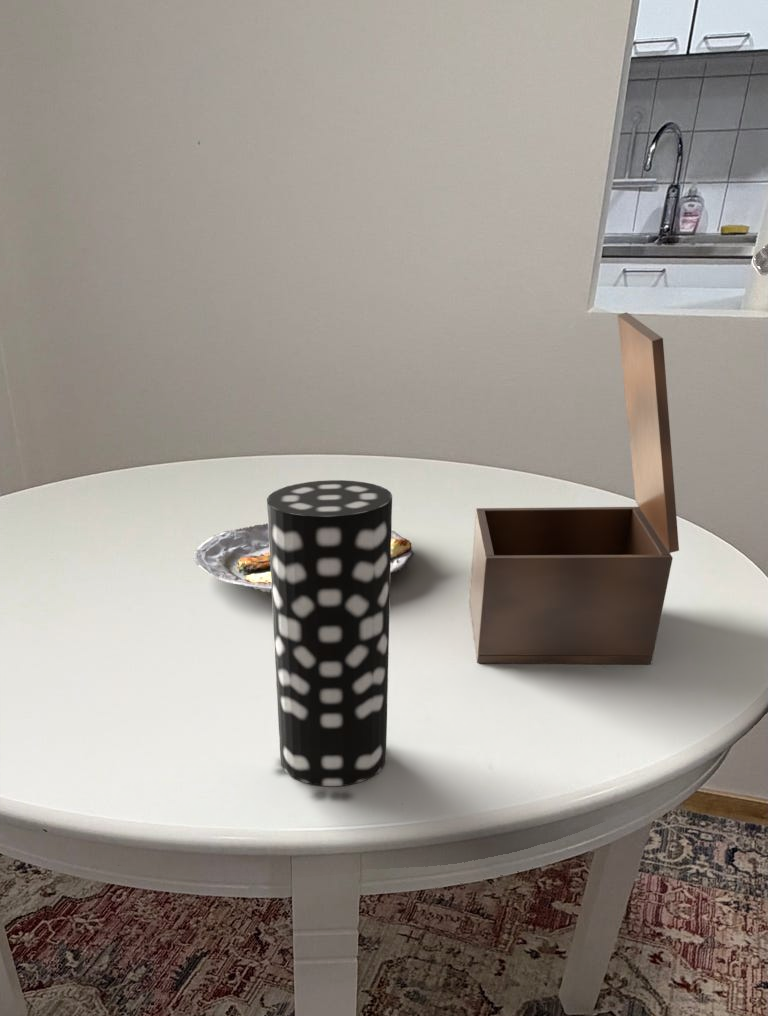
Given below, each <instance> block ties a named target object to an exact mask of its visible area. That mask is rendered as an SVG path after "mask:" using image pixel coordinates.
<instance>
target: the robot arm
mask: <svg viewBox="0 0 768 1016" xmlns="http://www.w3.org/2000/svg"><path fill="white" fill-rule="evenodd" d="M751 264H752V267H753V268H754V269H755V271H756V273H757V274H758V276H761V277H765V276H768V243H767V244H766V245H765V246H764V247H762V248H761V249H760V250H758V252H756V253H755V255H753V257H752V259H751Z"/></svg>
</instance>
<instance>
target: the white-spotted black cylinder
mask: <svg viewBox="0 0 768 1016" xmlns="http://www.w3.org/2000/svg"><path fill="white" fill-rule="evenodd" d="M266 507H267V508H266V510H267V524H268V530H269V550H270V569H271V588H272V590H271V606H272V624H273V641H274V643H273V645H274V646H273V647H274V661H275V662H274V663H275V680H276V681H275V682H276V683H275V684H276V699H277V700H276V701H277V703H276V704H277V720H278V739H279V758H280V759H279V760H280V765H281V768H282V769H283V771H285V772H286V774H287V775H289V776H290V777H292V778H293V779H296V780H297V781H300V782H302V783H307V784H309V785H314V786H322V787H326V786H327V787H339V786H348V785H354V784H357V783H361V782H364V781H366V780H368V779H371V778H372V777H374V776H375V775H377V774H378V773H379V772H380V771H381V770H382V769H383V768H384V767H385V764H386V762H387V739H388V738H387V734H388V693H389V692H388V691H389V655H390V653H389V651H390V650H389V649H390V613H391V612H390V609H391V608H390V607H391V573H390V570H391V530H392V526H393V523H392V522H393V494H392V491H390V490H388V489H387V488H385V487H383V486H380V485H377V484H375V483H371V482H365V481H359V480H346V479H345V480H341V479H336V480H335V479H333V480H331V479H328V480H315V481H306V482H301V483H295V484H292V485H287V486H285V487H282V488H279V489H276V490H275V491H273V492H271V493H270V494H269V495H268V496H267V498H266Z"/></svg>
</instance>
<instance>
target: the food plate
mask: <svg viewBox="0 0 768 1016" xmlns="http://www.w3.org/2000/svg"><path fill="white" fill-rule="evenodd" d="M412 548H413V547H412V541H410V540H409V539H407V538H404V537H402V536H401V535H400V534H399V533H397V532H396V531H395V530H392V529H391V570H390V574H392V573H396V572H400V571H401V570H403V569H404V568H405V567H407V566H408V564H409V562H410V561H411V559H412V558H413V557H414V556H415V553H414V551H413V549H412ZM193 560H194V562H195V563H196V565H197V566H198V567H199V568H200V569H202V571H203V572H204V571H205V573H206V574H208V575H211V576H212V577H214V578H215V579H217V580H218V581H220V582H223V583H227V584H232V585H233V584H234V585H241V586H244V587H251V588H253V589H254V590H255V591H256V590H260V591H261V592H263V593H267V592H268V593H272V588H271V569H270V550H269V530H268V523H263V524H255V525H250V526H246V527H241V528H237V529H236V528H235V529H231V530H226V531H225V530H224V532H222V533H218V534H216V535H213V536H211V537H210V538H208V539H207V540H204V541H203V543H201V545H199V546H198V547H197V548H196V549H195V550H194V552H193Z"/></svg>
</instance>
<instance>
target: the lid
mask: <svg viewBox="0 0 768 1016" xmlns="http://www.w3.org/2000/svg"><path fill="white" fill-rule="evenodd" d="M617 324H618V325H617V326H618V334H619V335H618V336H619V344H620V345H619V346H620V355H621V366H622V374H623V385H624V395H625V405H626V416H627V425H628V426H627V427H628V435H629V436H628V437H629V447H630V456H631V467H632V477H633V478H632V479H633V487H634V497H635V503H636V505H637V507H639V508H640V509H641V511H642V512H643V514H644V515H645V517H646V518H647V520H648V521H649V523H650V524H651V526H652V528H653V529H654V531H655V532H656V534H657V535H658V537H659V538H660V540H661V541H662V543H663V544H664V546H665V547H666V549H667V550H668V552H669V553H670V554H671V553H675V552H679V551H680V545H679V531H678V518H677V505H676V492H675V479H674V478H675V477H674V467H673V453H672V452H673V451H672V439H671V427H670V425H671V424H670V414H669V413H670V412H669V400H668V387H667V385H668V384H667V375H666V372H667V371H666V362H665V349H664V347H665V346H664V338H663V337H662V336H661V335H659V334H658V333H657V332H655V331H654V330H652V329H651V328H650V327H648V326H647V325H645V324H644V323H642V322H641V321H639V320H638V319H637V318H635V317H634V316H632V315H631V314H629V313H628V311H627V312H622V313H620V314H617Z"/></svg>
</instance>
